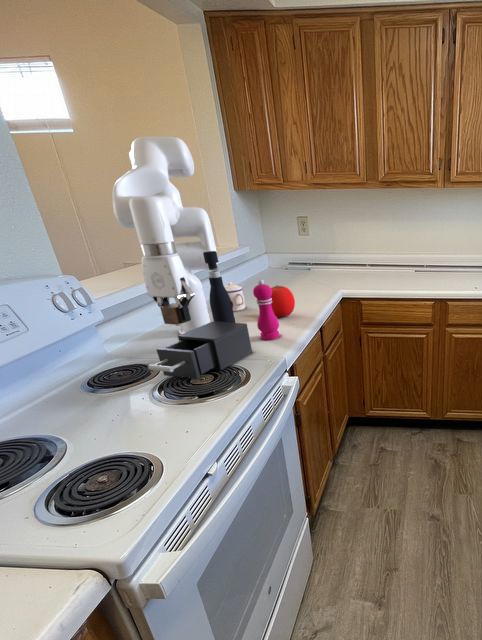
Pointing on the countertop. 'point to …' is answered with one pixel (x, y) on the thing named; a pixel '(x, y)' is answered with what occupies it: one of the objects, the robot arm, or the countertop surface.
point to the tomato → (282, 301)
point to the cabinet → (223, 341)
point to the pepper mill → (266, 312)
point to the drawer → (186, 358)
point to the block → (170, 314)
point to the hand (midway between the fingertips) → (177, 320)
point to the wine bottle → (218, 291)
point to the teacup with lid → (235, 296)
